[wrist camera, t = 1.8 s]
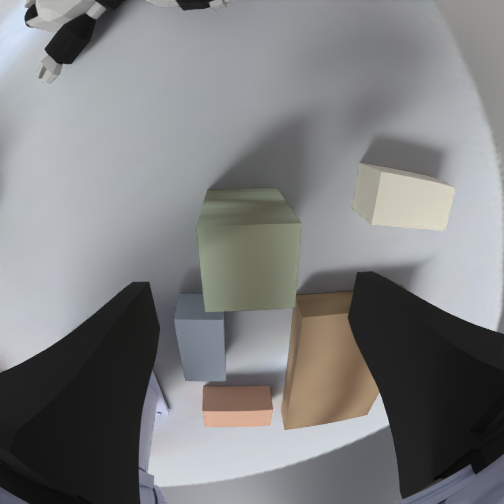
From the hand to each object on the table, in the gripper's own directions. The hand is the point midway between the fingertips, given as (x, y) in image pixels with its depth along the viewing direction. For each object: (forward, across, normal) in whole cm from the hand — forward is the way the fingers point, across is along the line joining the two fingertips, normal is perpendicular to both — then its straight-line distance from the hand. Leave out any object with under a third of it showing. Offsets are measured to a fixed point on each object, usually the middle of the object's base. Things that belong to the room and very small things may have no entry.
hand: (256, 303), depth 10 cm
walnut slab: (+8, -8, +13) cm, 17 cm away
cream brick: (+8, -10, -2) cm, 13 cm away
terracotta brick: (+8, +1, +17) cm, 19 cm away
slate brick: (+8, +3, +8) cm, 12 cm away
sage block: (+8, 0, 0) cm, 8 cm away
